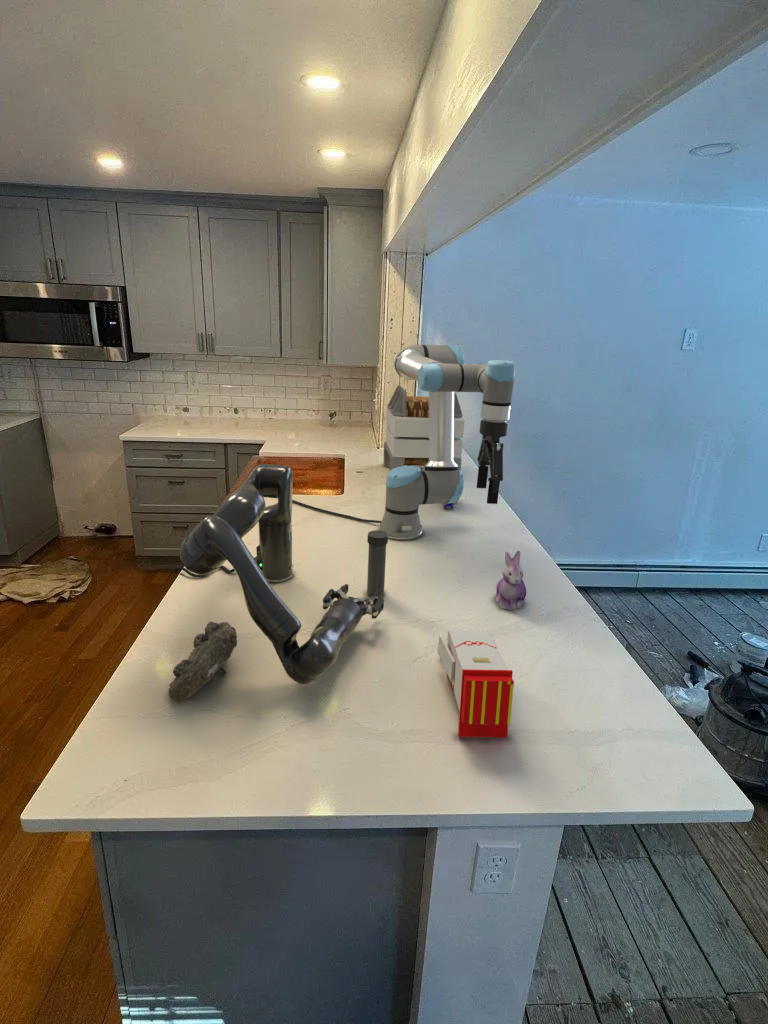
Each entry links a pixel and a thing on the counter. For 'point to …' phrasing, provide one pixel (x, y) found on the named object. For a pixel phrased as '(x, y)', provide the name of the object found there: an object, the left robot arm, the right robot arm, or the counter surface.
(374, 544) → the lid
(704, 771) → the counter surface
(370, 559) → the jar
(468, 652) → the toy
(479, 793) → the counter surface
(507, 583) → the figurine
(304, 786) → the counter surface
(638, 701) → the counter surface
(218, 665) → the fossil
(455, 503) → the figurine character
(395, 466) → the white slatted crate
